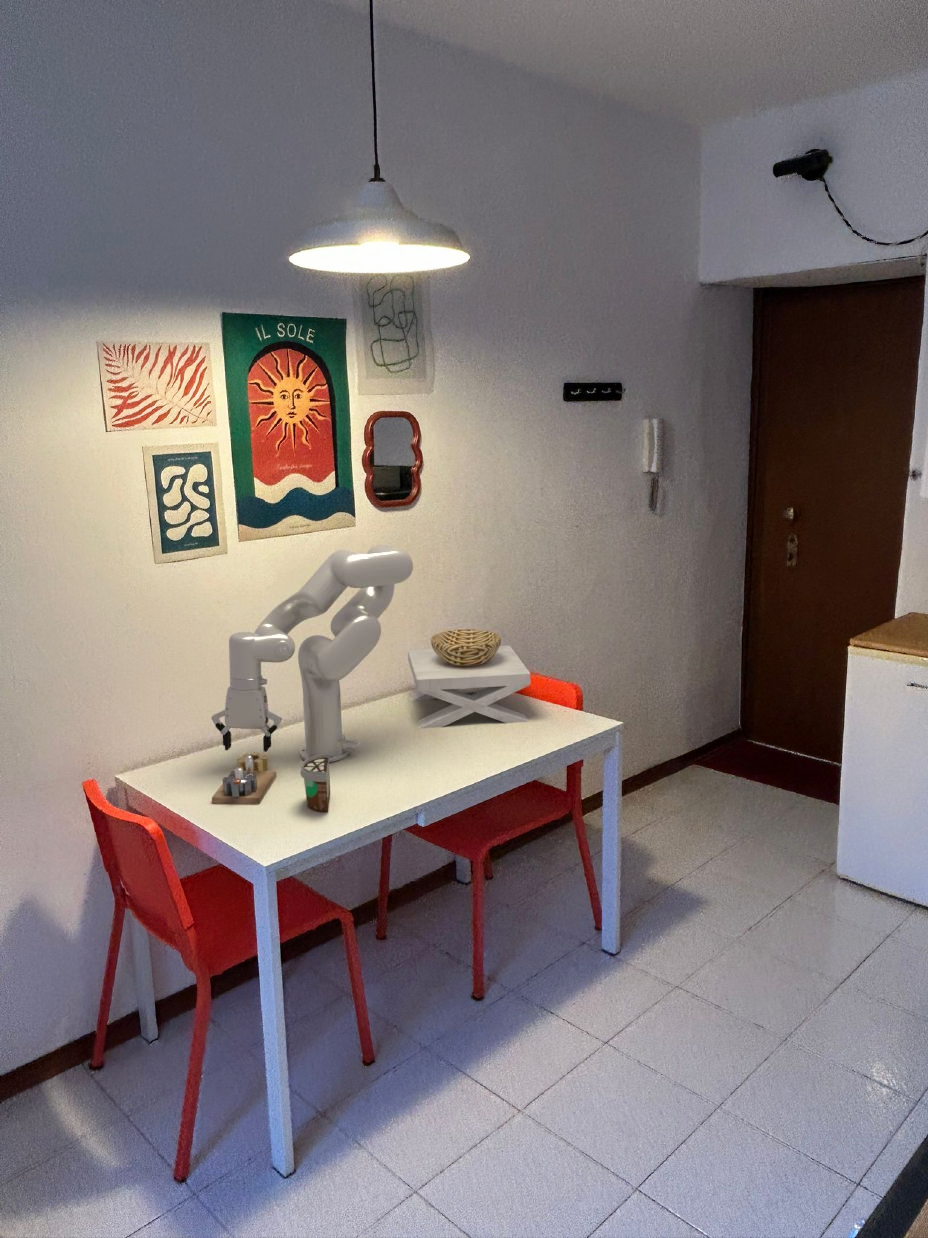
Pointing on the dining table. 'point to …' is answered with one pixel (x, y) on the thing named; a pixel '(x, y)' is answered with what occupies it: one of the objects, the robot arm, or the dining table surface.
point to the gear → (239, 783)
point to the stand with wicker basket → (467, 676)
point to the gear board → (263, 786)
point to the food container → (317, 782)
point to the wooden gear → (255, 761)
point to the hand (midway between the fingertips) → (247, 749)
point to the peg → (249, 764)
